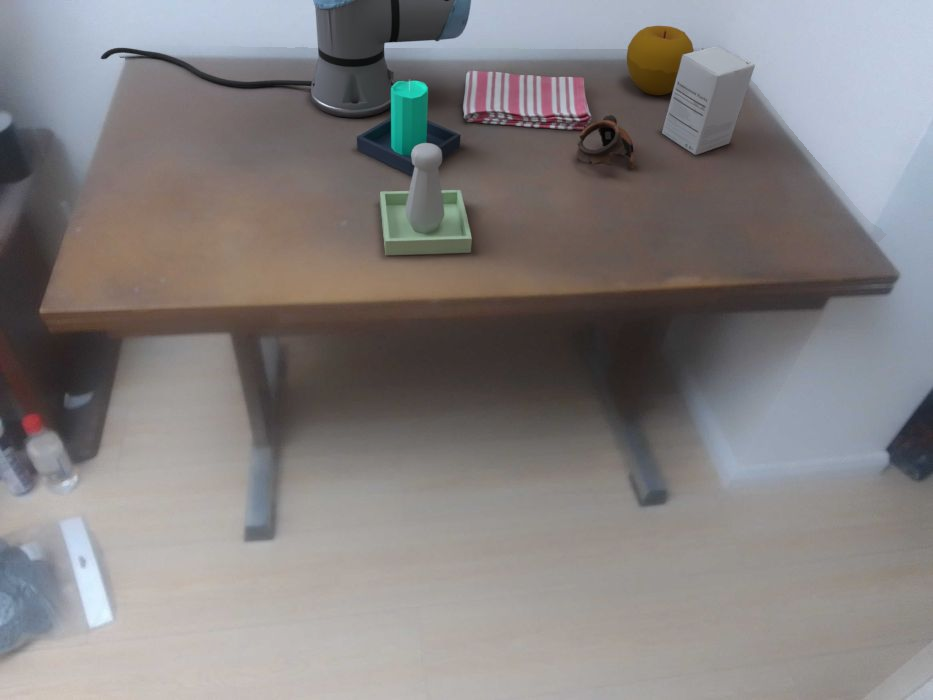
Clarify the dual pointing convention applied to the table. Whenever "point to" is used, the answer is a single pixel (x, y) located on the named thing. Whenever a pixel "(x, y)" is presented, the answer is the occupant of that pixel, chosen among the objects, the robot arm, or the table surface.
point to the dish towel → (525, 100)
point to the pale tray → (406, 241)
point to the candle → (408, 115)
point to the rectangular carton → (707, 99)
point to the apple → (657, 58)
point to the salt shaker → (425, 189)
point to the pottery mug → (606, 142)
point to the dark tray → (380, 148)
